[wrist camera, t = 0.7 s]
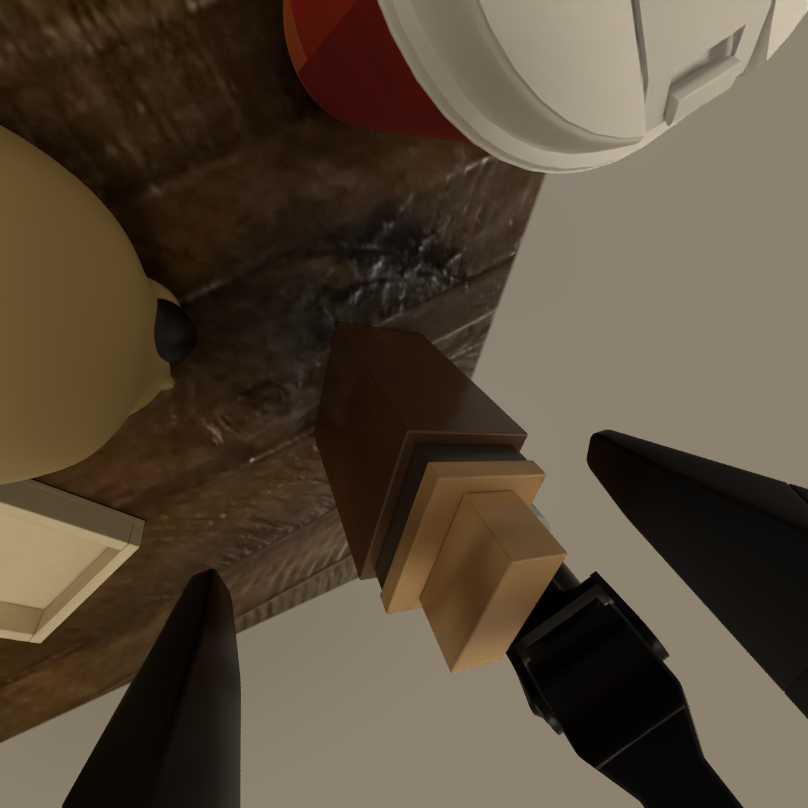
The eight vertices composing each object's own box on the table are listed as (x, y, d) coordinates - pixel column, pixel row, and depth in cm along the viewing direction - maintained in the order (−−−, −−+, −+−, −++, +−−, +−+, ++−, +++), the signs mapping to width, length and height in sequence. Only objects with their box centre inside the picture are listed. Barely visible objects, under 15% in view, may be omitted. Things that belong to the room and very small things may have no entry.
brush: (461, 559, 17) (520, 662, 14) (371, 572, 16) (413, 694, 12) (516, 442, 15) (606, 534, 11) (414, 441, 13) (485, 550, 9)
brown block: (391, 436, 26) (466, 565, 18) (313, 435, 23) (359, 581, 16) (422, 333, 23) (529, 434, 15) (336, 321, 20) (407, 431, 13)
